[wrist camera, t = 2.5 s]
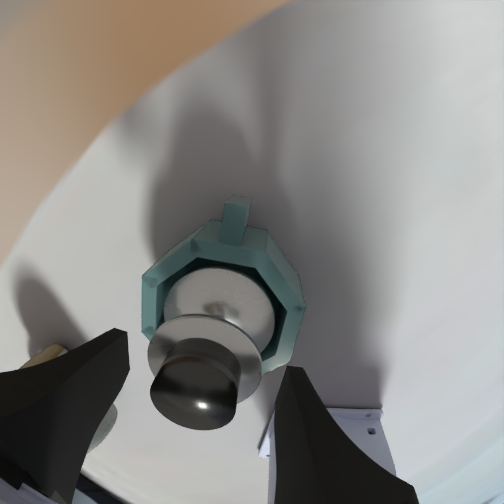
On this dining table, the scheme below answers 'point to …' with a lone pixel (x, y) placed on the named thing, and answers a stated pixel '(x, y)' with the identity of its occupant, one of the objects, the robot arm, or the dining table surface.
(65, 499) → the robot arm
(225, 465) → the dining table surface
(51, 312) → the dining table surface
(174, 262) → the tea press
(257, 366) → the black and white knob
